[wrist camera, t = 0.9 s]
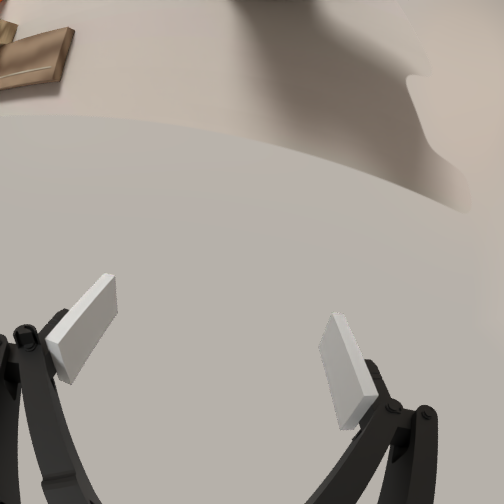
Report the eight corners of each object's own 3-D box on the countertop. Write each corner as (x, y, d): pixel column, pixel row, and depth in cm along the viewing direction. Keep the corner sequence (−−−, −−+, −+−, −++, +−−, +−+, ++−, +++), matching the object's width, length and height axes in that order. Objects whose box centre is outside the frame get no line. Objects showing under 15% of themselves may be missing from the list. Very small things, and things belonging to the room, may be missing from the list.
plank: (-10, 54, 27) (-17, 53, 25) (74, 30, 29) (67, 26, 27) (-21, 95, 31) (-28, 95, 28) (59, 81, 33) (51, 79, 30)
